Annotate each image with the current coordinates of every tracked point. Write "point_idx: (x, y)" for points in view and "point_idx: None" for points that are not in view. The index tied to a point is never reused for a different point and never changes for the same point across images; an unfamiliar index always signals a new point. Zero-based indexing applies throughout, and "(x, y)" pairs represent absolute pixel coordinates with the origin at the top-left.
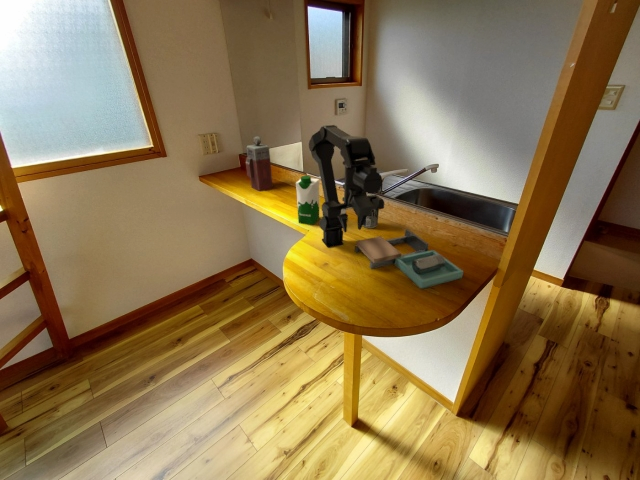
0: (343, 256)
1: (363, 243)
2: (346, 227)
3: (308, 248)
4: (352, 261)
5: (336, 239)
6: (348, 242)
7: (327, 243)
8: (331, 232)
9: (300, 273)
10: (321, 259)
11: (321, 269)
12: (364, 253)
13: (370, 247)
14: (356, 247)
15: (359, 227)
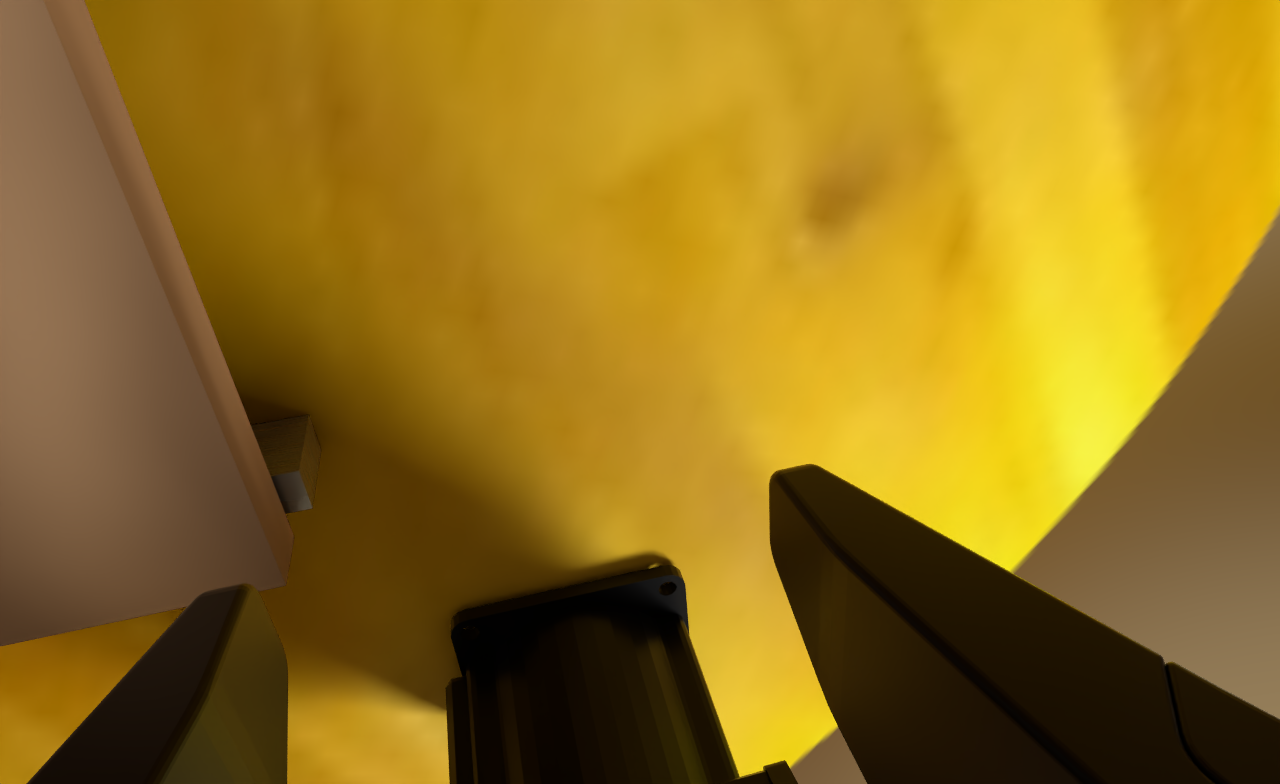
0: (531, 349)
1: (152, 501)
2: (889, 575)
3: None
4: (427, 191)
5: (566, 669)
6: (366, 657)
7: (672, 626)
8: (668, 764)
9: (1226, 50)
10: (846, 325)
11: (947, 79)
12: (182, 254)
13: (12, 350)
14: (298, 469)
15: (236, 659)
